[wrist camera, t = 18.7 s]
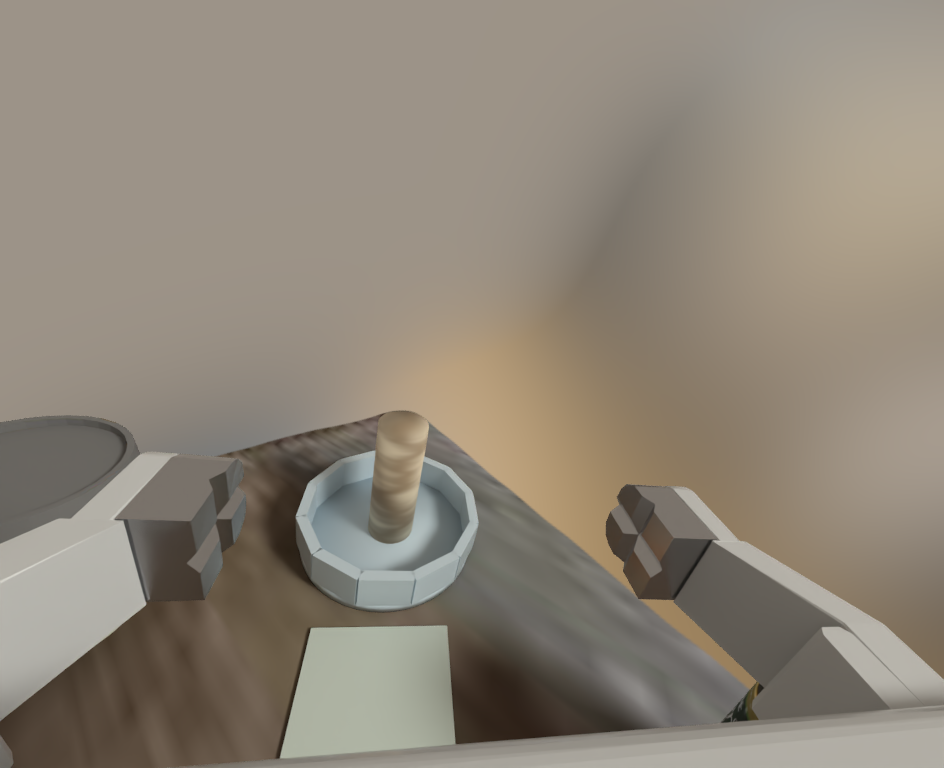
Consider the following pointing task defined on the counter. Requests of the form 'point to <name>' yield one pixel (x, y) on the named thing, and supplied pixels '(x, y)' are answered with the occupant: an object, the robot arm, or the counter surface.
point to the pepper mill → (396, 475)
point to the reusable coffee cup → (56, 467)
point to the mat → (372, 691)
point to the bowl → (378, 564)
